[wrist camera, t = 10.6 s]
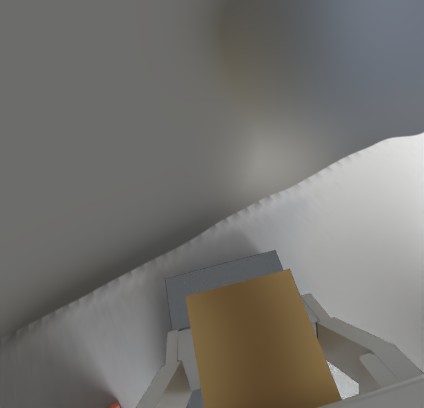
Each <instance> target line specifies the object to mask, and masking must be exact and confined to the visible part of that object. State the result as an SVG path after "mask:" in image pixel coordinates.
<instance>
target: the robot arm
mask: <svg viewBox="0 0 424 408" xmlns="http://www.w3.org/2000/svg"><path fill="white" fill-rule="evenodd" d="M301 299H302V301H303V304H304V306H305V309H306V311H307V314H308V316H309V319H310V321H311V324H312V326H313V329H314V331H315V334H316V337H317V339H318V342H319V344H320V347H321V349H322V352H323V354H324V357H325V359H326V360H327V361H328V362H330V363H331V364H333V365H334V366H335V367H337V368H338V369H339V370H341V371H342V372H344V373H345V374H346V375H348V376H349V377H350V378H352V379H353V380H355V381H356V382H357V383H359V395H356V396H352V397H349V398H346V399H343V400H340V401H336V402H333V403H330V404H327V405H324V406H320V407H317V408H424V373H423V372H422V371H421V370H420V369H419V368H418V367H417V366H415V365H414V364H413V363H412V362H411V361H410V360H409V359H408V358H407V357H406V356H405V355H404V354H403V353H402V352H401V351H400V350H399V349H398V348H397V347H396V346H395V345H393V344H391V343H389V342H387V341H385V340H382V339H380V338H378V337H376V336H374V335H372V334H369V333H367V332H365V331H363V330H361V329H358V328H356V327H354V326H352V325H350V324H348V323H345V322H343V321H341V320H339V319H337V318H331V317H330V316H329V315H328V314H327V313H326V311H325V310H324V309H323V308H322V307H321V306H320V304H319V303H318V302H317V301H316V300H315V299H314V297H313V296H312V295H311V294H306V295H302V296H301ZM200 388H201V386H200V380H199V374H198V368H197V362H196V356H195V351H194V345H193V339H192V333H191V327H190V326H189V327H185V328H181V329H178V330H174V331H170V332H168V334H167V345H166V359H165V365H164V366H162V367H161V368H160V370H159V372H158V373H157V375H156V376H155V378H154V379H153V381H152V383H151V384H150V386H149V387H148V389H147V391H146V392H145V394H144V395H143V397H142V399H141V400H140V402H139V403H138V405H137V407H136V408H186V406H187V403H188V401H189V398H190V396H191V393H192V392H191V391H193V390H197V389H200Z"/></svg>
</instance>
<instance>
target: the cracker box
mask: <svg viewBox="0 0 424 408" xmlns="http://www.w3.org/2000/svg"><path fill="white" fill-rule="evenodd" d="M108 408H121V407H120V404H119V402H118V401H117V402H115V403H114V404H113V405H111V406H110V407H108Z"/></svg>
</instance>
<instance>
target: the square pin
mask: <svg viewBox="0 0 424 408" xmlns="http://www.w3.org/2000/svg"><path fill="white" fill-rule="evenodd" d="M185 298H186V304H187V310H188V315H189V321H190V327H191V333H192V339H193V345H194V351H195V356H196V362H197V368H198V374H199V380H200V386H201V392H202V397H203V403H204V408H317V407H320V406H324V405H327V404H330V403H333V402H336V401H340V400H342V399H341V397H340V394H339V392H338V389H337V387H336V384H335V382H334V379H333V377H332V374H331V372H330V369H329V367H328V364H327V362H326V359H325V357H324V354H323V352H322V349H321V347H320V344H319V342H318V339H317V337H316V334H315V331H314V329H313V326H312V324H311V321H310V319H309V316H308V314H307V311H306V309H305V306H304V304H303V301H302V299H301V296H300V294H299V291H298V289H297V286H296V284H295V281H294V279H293V276H292V274H291V271H290V269H287V270H284V271H280V272H276V273H272V274H268V275H265V276H261V277H257V278H253V279H249V280H246V281H242V282H238V283H234V284H230V285H227V286H223V287H219V288H215V289H211V290H208V291H204V292H200V293H196V294H192V295H189V296H185Z"/></svg>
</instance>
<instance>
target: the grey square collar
mask: <svg viewBox="0 0 424 408" xmlns="http://www.w3.org/2000/svg"><path fill="white" fill-rule="evenodd" d="M280 271H283V268H282V266H281V263H280V261H279V258H278V255H277V253H276V250H274V251H270V252H266V253H262V254H258V255H254V256H250V257H247V258H243V259H239V260H235V261H231V262H227V263H224V264H220V265H216V266H212V267H208V268H204V269H201V270H197V271H193V272H189V273H185V274H181V275H178V276H174V277H170V278H166V279H165V282H166V289H167V297H168V304H169V311H170V318H171V326H172V331H174V330H178V329H181V328H185V327H189V326H190V321H189V315H188V310H187V304H186V298H185V296H189V295H192V294H196V293H200V292H204V291H208V290H211V289H215V288H219V287H223V286H227V285H230V284H234V283H238V282H242V281H246V280H249V279H253V278H257V277H261V276H265V275H268V274H272V273H276V272H280ZM191 392H192V393H191V396H190V398H189V401H188V403H187V406H186V408H204V403H203V397H202V392H201V388H200V389H197V390H193V391H191Z"/></svg>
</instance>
